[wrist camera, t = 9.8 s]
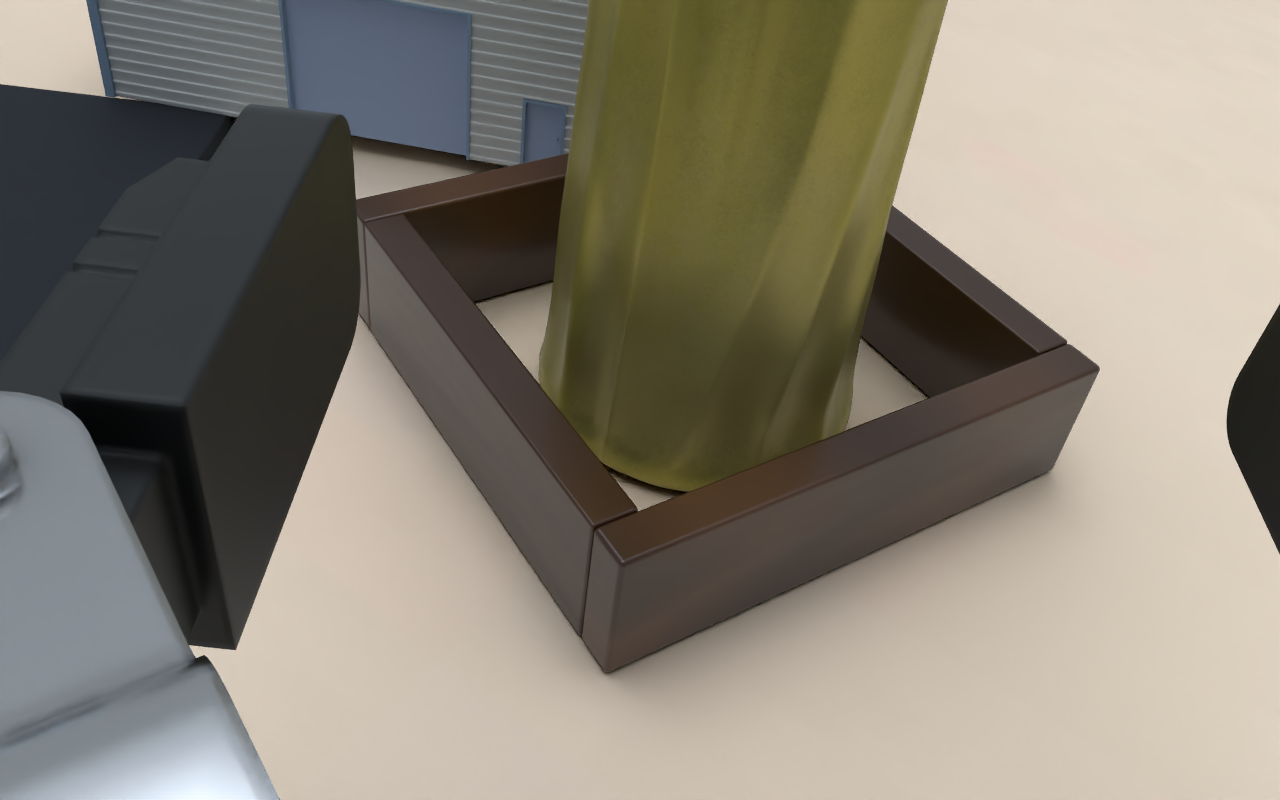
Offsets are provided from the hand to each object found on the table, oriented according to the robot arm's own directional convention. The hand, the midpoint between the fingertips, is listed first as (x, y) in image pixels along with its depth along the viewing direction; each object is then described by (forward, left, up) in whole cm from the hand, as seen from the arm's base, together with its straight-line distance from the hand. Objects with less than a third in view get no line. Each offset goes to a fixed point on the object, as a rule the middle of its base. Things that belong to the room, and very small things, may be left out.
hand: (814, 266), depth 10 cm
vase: (+5, +8, -10) cm, 13 cm away
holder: (+5, +8, -9) cm, 13 cm away
